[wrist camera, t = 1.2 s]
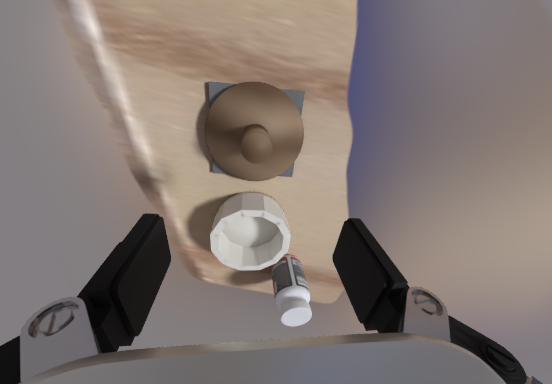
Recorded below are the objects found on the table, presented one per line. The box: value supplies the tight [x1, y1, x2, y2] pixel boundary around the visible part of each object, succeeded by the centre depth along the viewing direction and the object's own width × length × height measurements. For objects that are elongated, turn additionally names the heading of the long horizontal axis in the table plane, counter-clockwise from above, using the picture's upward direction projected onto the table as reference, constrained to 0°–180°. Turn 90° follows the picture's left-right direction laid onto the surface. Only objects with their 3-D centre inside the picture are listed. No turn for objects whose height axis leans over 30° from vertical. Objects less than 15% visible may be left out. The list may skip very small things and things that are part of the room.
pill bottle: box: [271, 255, 312, 326], centre depth 34 cm, size 6×6×10 cm
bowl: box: [210, 192, 291, 270], centre depth 31 cm, size 11×11×5 cm
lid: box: [205, 82, 304, 181], centre depth 23 cm, size 12×12×6 cm
